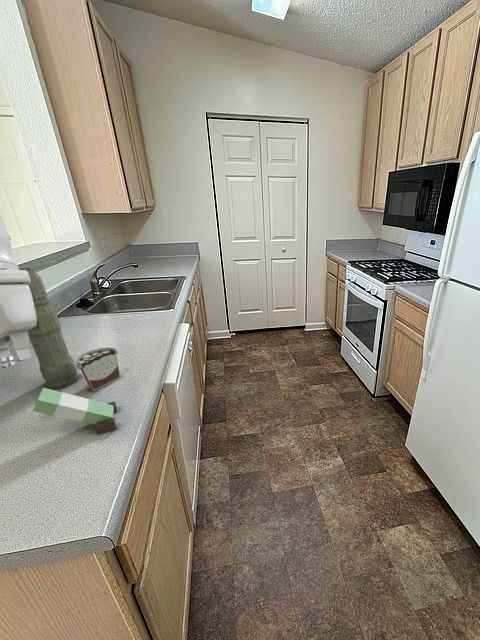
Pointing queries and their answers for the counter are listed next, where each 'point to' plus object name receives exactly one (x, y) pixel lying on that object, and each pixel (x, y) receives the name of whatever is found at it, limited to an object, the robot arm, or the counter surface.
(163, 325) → the counter surface
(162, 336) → the counter surface
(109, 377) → the cake slice
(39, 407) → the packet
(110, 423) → the stand
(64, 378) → the moai statue
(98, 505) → the counter surface
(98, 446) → the counter surface
